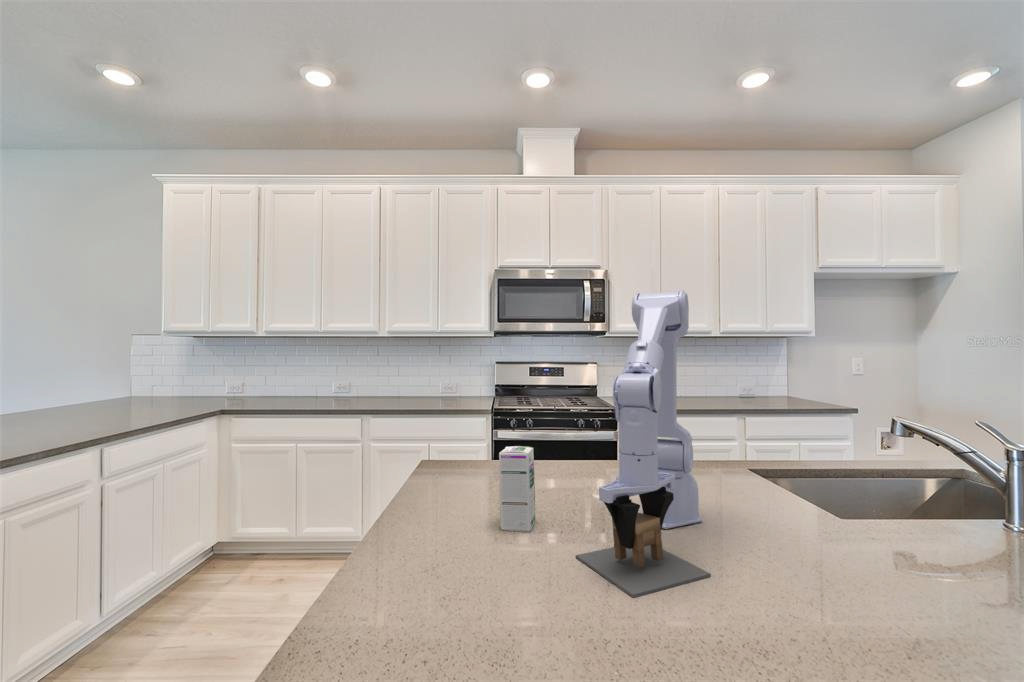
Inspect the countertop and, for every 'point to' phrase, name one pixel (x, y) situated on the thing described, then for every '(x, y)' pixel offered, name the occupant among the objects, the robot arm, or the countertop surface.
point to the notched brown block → (642, 540)
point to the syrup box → (517, 488)
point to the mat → (642, 571)
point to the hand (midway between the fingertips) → (639, 542)
